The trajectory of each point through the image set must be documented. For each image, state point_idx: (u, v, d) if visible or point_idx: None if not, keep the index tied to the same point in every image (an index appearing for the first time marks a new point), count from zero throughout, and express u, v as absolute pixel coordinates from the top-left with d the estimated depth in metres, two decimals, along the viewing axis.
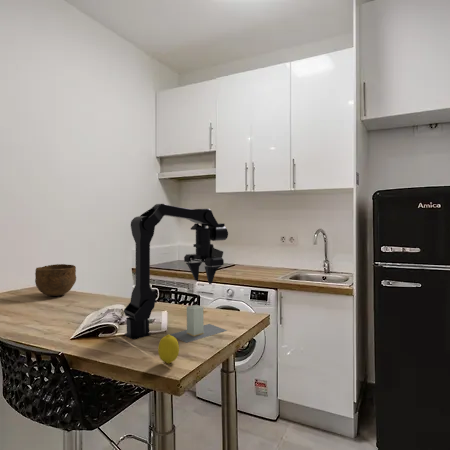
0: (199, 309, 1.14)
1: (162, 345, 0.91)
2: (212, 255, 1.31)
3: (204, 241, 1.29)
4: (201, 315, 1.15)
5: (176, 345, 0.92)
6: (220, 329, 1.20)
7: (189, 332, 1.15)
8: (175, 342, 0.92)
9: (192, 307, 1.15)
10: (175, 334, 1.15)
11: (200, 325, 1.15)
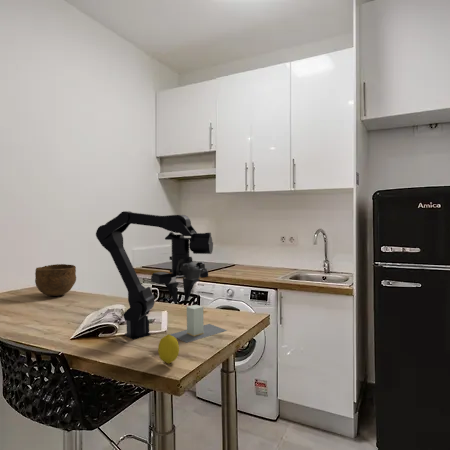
0: (199, 309, 1.14)
1: (162, 345, 0.91)
2: (177, 271, 1.08)
3: (174, 253, 1.09)
4: (201, 315, 1.15)
5: (176, 345, 0.92)
6: (220, 329, 1.20)
7: (189, 332, 1.15)
8: (175, 342, 0.92)
9: (192, 307, 1.15)
10: (175, 334, 1.15)
11: (200, 325, 1.15)
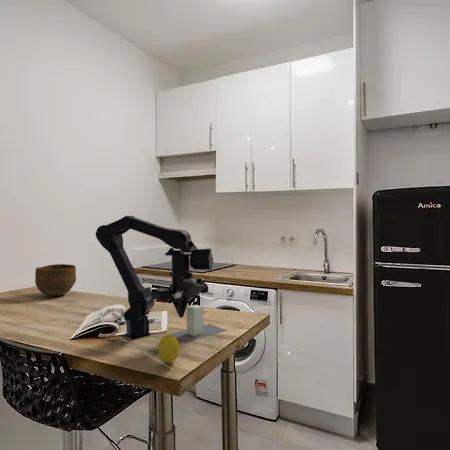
0: (199, 309, 1.14)
1: (162, 345, 0.91)
2: (177, 287, 1.08)
3: (174, 269, 1.09)
4: (201, 315, 1.15)
5: (176, 345, 0.92)
6: (220, 329, 1.20)
7: (189, 332, 1.15)
8: (175, 342, 0.92)
9: (192, 307, 1.15)
10: (175, 334, 1.15)
11: (200, 325, 1.15)
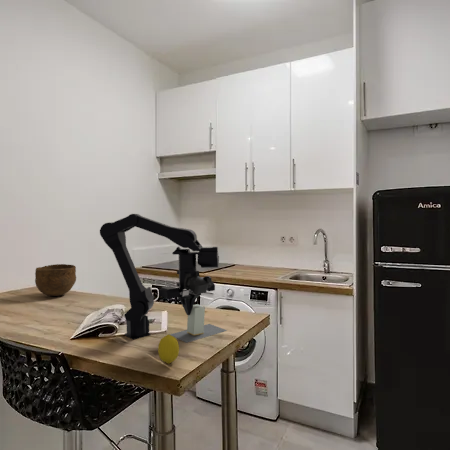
0: (201, 308, 1.15)
1: (162, 345, 0.91)
2: (184, 286, 1.10)
3: (182, 268, 1.11)
4: (202, 315, 1.15)
5: (176, 345, 0.92)
6: (220, 329, 1.20)
7: (189, 331, 1.15)
8: (175, 342, 0.92)
9: (194, 306, 1.15)
10: (175, 334, 1.15)
11: (200, 324, 1.15)
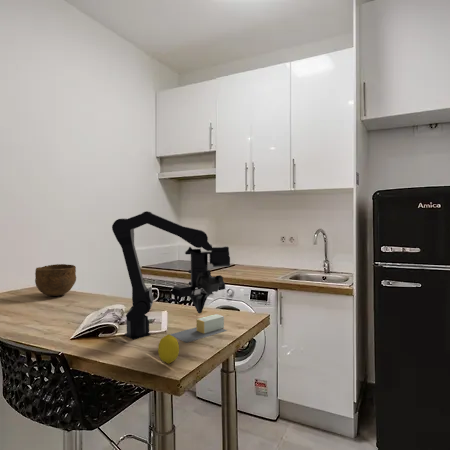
0: (222, 323, 1.21)
1: (162, 345, 0.91)
2: (196, 284, 1.13)
3: (195, 267, 1.14)
4: (217, 326, 1.20)
5: (176, 345, 0.92)
6: (220, 329, 1.20)
7: (200, 319, 1.18)
8: (175, 342, 0.92)
9: None
10: (175, 334, 1.15)
11: (210, 327, 1.18)
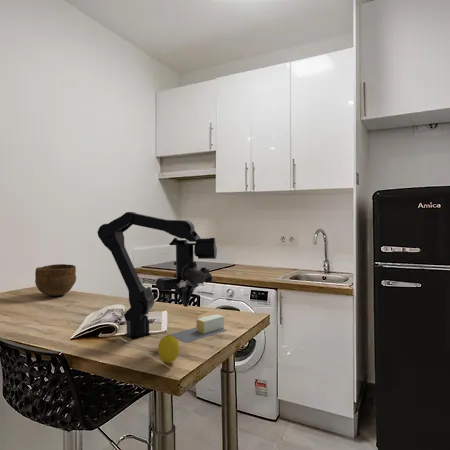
0: (222, 323, 1.21)
1: (162, 345, 0.91)
2: (181, 276, 1.09)
3: (179, 259, 1.10)
4: (217, 326, 1.20)
5: (176, 345, 0.92)
6: (220, 329, 1.20)
7: (200, 319, 1.18)
8: (175, 342, 0.92)
9: None
10: (175, 334, 1.15)
11: (210, 327, 1.18)
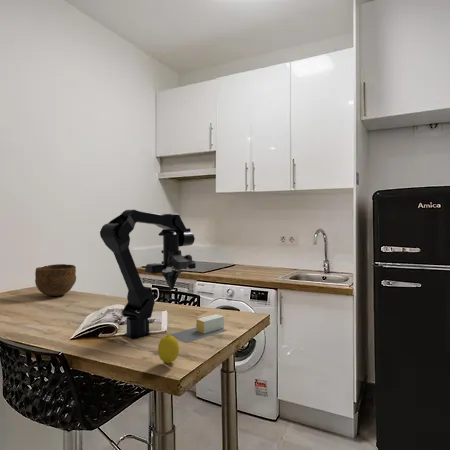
0: (222, 323, 1.21)
1: (162, 345, 0.91)
2: (167, 263, 1.24)
3: (173, 247, 1.25)
4: (217, 326, 1.20)
5: (176, 345, 0.92)
6: (220, 329, 1.20)
7: (200, 319, 1.18)
8: (175, 342, 0.92)
9: None
10: (175, 334, 1.15)
11: (210, 327, 1.18)
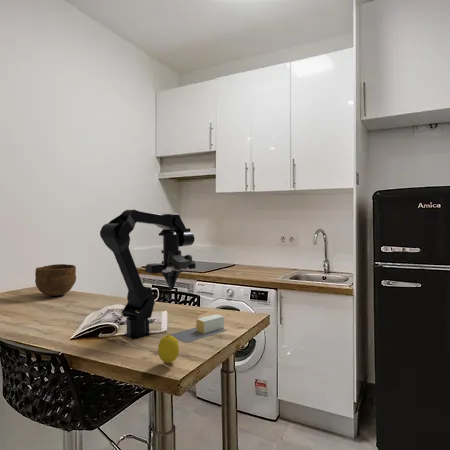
0: (222, 323, 1.21)
1: (162, 345, 0.91)
2: (167, 263, 1.24)
3: (173, 247, 1.25)
4: (217, 326, 1.20)
5: (176, 345, 0.92)
6: (220, 329, 1.20)
7: (200, 319, 1.18)
8: (175, 342, 0.92)
9: None
10: (175, 334, 1.15)
11: (210, 327, 1.18)
